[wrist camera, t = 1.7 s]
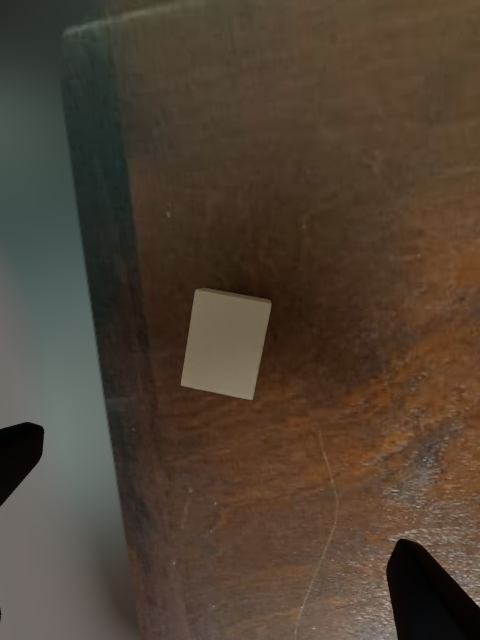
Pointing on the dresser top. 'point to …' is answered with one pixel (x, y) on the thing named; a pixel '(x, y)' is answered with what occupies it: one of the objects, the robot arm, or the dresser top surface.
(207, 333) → the beige pad
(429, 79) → the dresser top surface
